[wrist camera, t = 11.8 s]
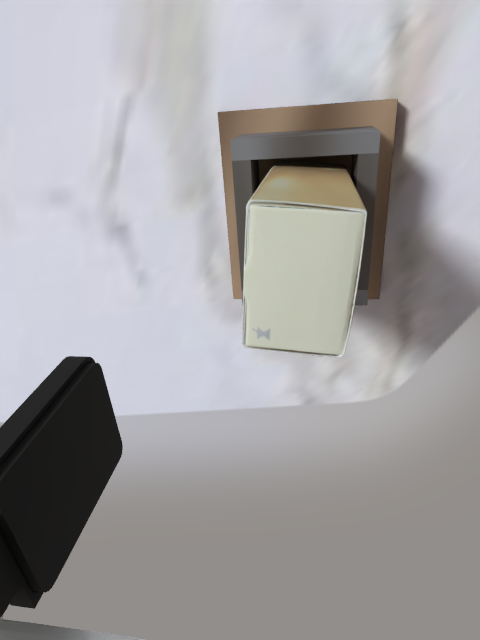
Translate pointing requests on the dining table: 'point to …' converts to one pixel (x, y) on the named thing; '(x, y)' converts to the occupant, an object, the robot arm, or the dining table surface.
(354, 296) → the skincare box
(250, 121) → the sleeve stand
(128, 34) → the dining table surface
